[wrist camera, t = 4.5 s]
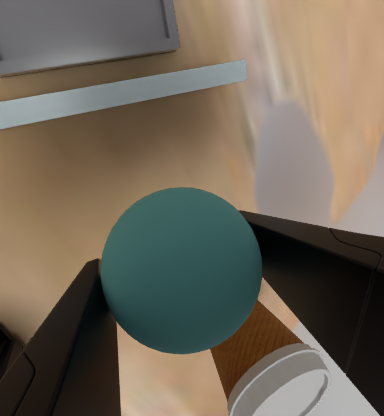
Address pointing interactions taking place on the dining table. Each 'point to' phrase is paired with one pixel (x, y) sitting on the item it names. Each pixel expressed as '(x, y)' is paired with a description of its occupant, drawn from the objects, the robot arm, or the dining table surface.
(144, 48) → the dish
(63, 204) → the dining table surface
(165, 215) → the ball
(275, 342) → the disposable coffee cup
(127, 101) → the wall
